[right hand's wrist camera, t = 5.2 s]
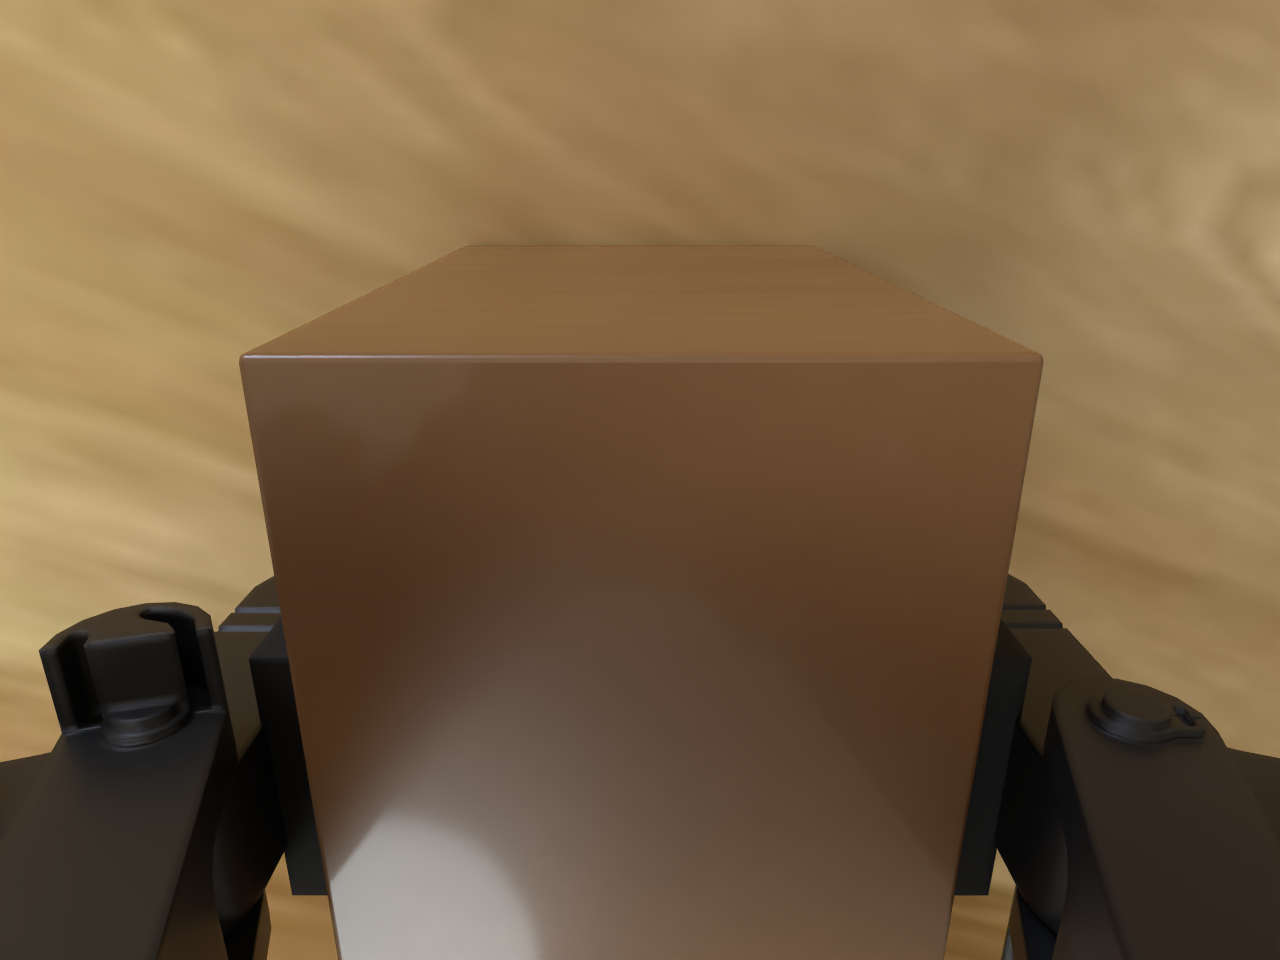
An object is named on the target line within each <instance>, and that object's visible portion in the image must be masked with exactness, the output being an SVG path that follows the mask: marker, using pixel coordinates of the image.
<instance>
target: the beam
mask: <svg viewBox="0 0 1280 960" xmlns="http://www.w3.org/2000/svg"><path fill="white" fill-rule="evenodd" d="M239 366H240V372H241V378H242V384H243V390H244V396H245V402H246V408H247V414H248V420H249V426H250V432H251V438H252V444H253V450H254V456H255V462H256V468H257V474H258V480H259V486H260V492H261V498H262V504H263V510H264V516H265V522H266V528H267V534H268V540H269V546H270V552H271V558H272V564H273V570H274V576H275V582H276V588H277V594H278V600H279V606H280V612H281V618H282V624H283V630H284V636H285V642H286V648H287V654H288V660H289V666H290V672H291V678H292V684H293V690H294V696H295V702H296V708H297V714H298V720H299V726H300V732H301V738H302V744H303V750H304V756H305V762H306V768H307V774H308V780H309V786H310V792H311V798H312V804H313V810H314V816H315V822H316V828H317V834H318V840H319V846H320V852H321V858H322V864H323V870H324V876H325V882H326V888H327V894H328V900H329V906H330V912H331V918H332V924H333V930H334V936H335V942H336V948H337V954H338V960H943V959H944V953H945V947H946V941H947V935H948V929H949V923H950V917H951V911H952V905H953V899H954V893H955V888H956V882H957V876H958V870H959V864H960V858H961V852H962V846H963V840H964V834H965V828H966V822H967V816H968V810H969V804H970V798H971V792H972V786H973V780H974V774H975V768H976V762H977V756H978V750H979V744H980V738H981V732H982V726H983V720H984V714H985V708H986V702H987V696H988V690H989V684H990V678H991V672H992V666H993V660H994V654H995V648H996V642H997V636H998V630H999V625H1000V619H1001V613H1002V607H1003V601H1004V595H1005V589H1006V583H1007V577H1008V571H1009V565H1010V559H1011V553H1012V547H1013V541H1014V535H1015V529H1016V523H1017V517H1018V511H1019V505H1020V499H1021V493H1022V487H1023V481H1024V475H1025V469H1026V463H1027V457H1028V451H1029V445H1030V439H1031V433H1032V427H1033V421H1034V415H1035V409H1036V403H1037V397H1038V391H1039V385H1040V379H1041V373H1042V367H1043V357H1042V355H1041V354H1039V353H1037V352H1034V351H1032V350H1030V349H1028V348H1026V347H1024V346H1022V345H1020V344H1018V343H1016V342H1013V341H1011V340H1009V339H1007V338H1005V337H1003V336H1001V335H999V334H997V333H995V332H992V331H990V330H988V329H986V328H984V327H982V326H980V325H978V324H976V323H974V322H971V321H969V320H967V319H965V318H963V317H961V316H959V315H957V314H955V313H953V312H950V311H948V310H946V309H944V308H942V307H940V306H938V305H936V304H934V303H932V302H930V301H927V300H925V299H923V298H921V297H919V296H917V295H915V294H913V293H911V292H909V291H906V290H904V289H902V288H900V287H898V286H896V285H894V284H892V283H890V282H888V281H885V280H883V279H881V278H879V277H877V276H875V275H873V274H871V273H869V272H867V271H864V270H862V269H860V268H858V267H856V266H854V265H852V264H850V263H848V262H846V261H843V260H841V259H839V258H837V257H835V256H833V255H831V254H829V253H827V252H825V251H822V250H820V249H818V248H816V247H814V246H466V247H463V248H461V249H459V250H457V251H455V252H453V253H451V254H449V255H447V256H445V257H443V258H441V259H439V260H437V261H435V262H432V263H430V264H428V265H426V266H424V267H422V268H420V269H418V270H416V271H414V272H412V273H410V274H408V275H406V276H404V277H402V278H399V279H397V280H395V281H393V282H391V283H389V284H387V285H385V286H383V287H381V288H379V289H377V290H375V291H373V292H371V293H368V294H366V295H364V296H362V297H360V298H358V299H356V300H354V301H352V302H350V303H348V304H346V305H344V306H342V307H340V308H337V309H335V310H333V311H331V312H329V313H327V314H325V315H323V316H321V317H319V318H317V319H315V320H313V321H311V322H309V323H306V324H304V325H302V326H300V327H298V328H296V329H294V330H292V331H290V332H288V333H286V334H284V335H282V336H280V337H278V338H275V339H273V340H271V341H269V342H267V343H265V344H263V345H261V346H259V347H257V348H255V349H253V350H251V351H249V352H247V353H244V354H242V355H241V356H240V360H239Z"/></svg>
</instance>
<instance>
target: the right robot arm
mask: <svg viewBox="0 0 1280 960" xmlns="http://www.w3.org/2000/svg"><path fill="white" fill-rule="evenodd" d="M39 653H40V657H41V660H42V664H43V667H44V671H45V674H46V678H47V682H48V685H49V689H50V692H51V696H52V699H53V703H54V706H55V710H56V713H57V717H58V720H59V724H60V727H61V731H62V734H61V736H60V738H59V739H58V741H57V743H56V745H55V747H54V748H53V750H52V752H50V753H46V754H42V755H37V756H31V757H26V758H21V759H16V760H11V761H5V762H0V960H267V953H268V946H269V940H270V933H271V922H270V914H269V907H268V902H267V897H266V892H265V887H266V886H267V884H268V882H269V880H270V878H271V876H272V874H273V872H274V870H275V868H276V866H277V864H278V862H279V860H280V858H281V856H282V855H283V853H285V858H286V863H287V869H288V874H289V880H290V885H291V890H292V895H328V894H327V888H326V882H325V876H324V870H323V864H322V858H321V852H320V846H319V840H318V834H317V828H316V822H315V816H314V810H313V804H312V798H311V792H310V786H309V780H308V774H307V768H306V762H305V756H304V750H303V744H302V738H301V732H300V726H299V720H298V714H297V708H296V702H295V696H294V690H293V684H292V678H291V672H290V666H289V660H288V654H287V648H286V642H285V636H284V630H283V624H282V618H281V612H280V606H279V600H278V594H277V588H276V582H275V576H273V577H271V578H270V579H268V580H266V581H264V582H263V583H261V584H259V585H257V586H256V587H254V589H253V590H252V591H251V592H250V593H249V594H248V595H247V596H246V597H245V598H244V600H243V601H242V602H241V603H240V604H239V605H238V606H237V607H236V608H235V613H231V614H230V615H229V616H228V617H227V618H226V619H225V621H224V622H223V623H222V624H221V625H220V626H219V631H218V632H214V631H213V626H212V621H211V616H210V615H209V614H208V613H206V612H205V611H203V610H202V609H201V608H199V607H198V606H193V605H187V604H182V603H177V602H168V603H145V604H140V605H135V606H130V607H125V608H119V609H114V610H111V611H108V612H106V613H103V614H100V615H97V616H94V617H91V618H88V619H85V620H82V621H81V622H79V623H77V624H75V625H73V626H71V627H69V628H67V629H66V630H64V631H62V632H60V633H58V634H56V635H55V636H54V637H53V638H52V639H51V640H50V641H49V642H47V643H46V644H45V645H44V646H43V647H42V648H41V649H40V650H39ZM997 849H998V851H999V853H1000V855H1001V857H1002V859H1003V861H1004V862H1005V864H1006V866H1007V868H1008V870H1009V872H1010V874H1011V876H1012V878H1013V880H1014V882H1015V884H1016V887H1015V892H1014V897H1013V902H1012V907H1011V912H1010V917H1009V922H1008V927H1007V932H1006V937H1005V942H1004V947H1003V952H1002V957H1001V960H1280V758H1276V757H1270V756H1265V755H1260V754H1255V753H1249V752H1244V751H1239V750H1235V749H1231V748H1227V747H1226V745H1225V743H1224V741H1223V740H1222V738H1221V736H1220V734H1219V733H1218V731H1217V730H1216V729H1215V728H1214V727H1213V726H1212V725H1211V723H1210V722H1209V721H1208V720H1207V719H1206V718H1205V717H1204V716H1203V714H1201V713H1200V712H1198V711H1197V710H1195V709H1194V708H1192V707H1190V706H1189V705H1187V704H1186V703H1184V702H1183V701H1181V700H1180V699H1178V698H1176V697H1174V696H1171V695H1169V694H1166V693H1164V692H1161V691H1159V690H1156V689H1154V688H1151V687H1149V686H1146V685H1142V684H1137V683H1133V682H1128V681H1124V680H1120V679H1113V678H1112V677H1111V676H1110V675H1109V674H1108V673H1107V672H1106V671H1105V670H1104V669H1103V667H1102V666H1101V665H1100V664H1099V663H1098V662H1097V661H1096V660H1095V659H1094V658H1093V657H1092V655H1091V654H1090V653H1089V652H1088V651H1087V650H1086V649H1085V648H1084V647H1083V646H1082V645H1081V643H1080V642H1079V641H1078V640H1077V639H1076V638H1075V637H1074V636H1073V635H1072V634H1071V633H1070V631H1069V630H1068V629H1063V627H1062V623H1061V622H1060V621H1059V619H1058V618H1057V617H1056V616H1055V615H1054V614H1053V613H1052V612H1051V611H1050V610H1046V605H1045V604H1044V603H1043V602H1042V601H1041V600H1040V599H1039V598H1038V596H1037V595H1036V594H1035V593H1034V592H1033V591H1032V590H1031V589H1030V588H1029V587H1028V586H1027V584H1025V583H1024V582H1022V581H1020V580H1018V579H1016V578H1015V577H1013V576H1011V575H1009V574H1008V577H1007V583H1006V589H1005V595H1004V601H1003V607H1002V613H1001V619H1000V625H999V630H998V636H997V642H996V648H995V654H994V660H993V666H992V672H991V678H990V684H989V690H988V696H987V702H986V708H985V714H984V720H983V726H982V732H981V738H980V744H979V750H978V756H977V762H976V768H975V774H974V780H973V786H972V792H971V798H970V804H969V810H968V816H967V822H966V828H965V834H964V840H963V846H962V852H961V858H960V864H959V870H958V876H957V882H956V888H955V893H954V895H988V894H989V888H990V883H991V877H992V872H993V867H994V861H995V856H996V850H997Z"/></svg>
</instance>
